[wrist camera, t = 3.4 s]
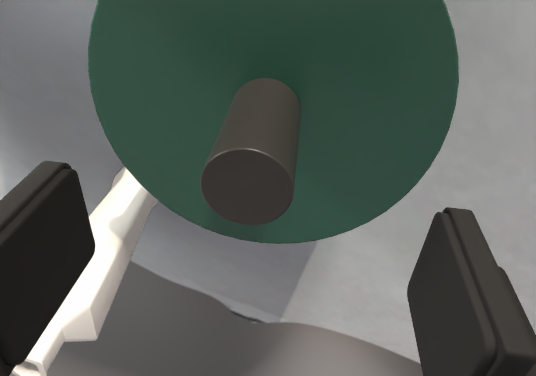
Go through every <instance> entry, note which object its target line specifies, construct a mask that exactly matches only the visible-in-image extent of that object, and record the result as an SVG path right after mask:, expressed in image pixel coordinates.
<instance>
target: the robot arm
mask: <svg viewBox="0 0 536 376" xmlns="http://www.w3.org/2000/svg"><path fill="white" fill-rule="evenodd" d="M94 253H95V240H94V237H93V233H92V229H91V225H90V221H89V217H88V213H87V209H86V205H85V201H84V197H83V194H82V190H81V186H80V182H79V178H78V174H77V172H76V171H75V170H73V169H72V168H71V166H70V165H69V164H67V163H60V162H52V161H44V162H42V163H41V164H39V165H38V166H37V167H36V168H35V169H34V170H33V171H32V172H31V173H30V174H29V175H28V176H26V177H25V178H24V179H23V180H22V181H21V182H20V183H19V184H18V185H17V186H16V187H15V188H13V189H12V190H11V191H10V192H9V193H8V194H7V195H6V196H5V197H4V198H3V199H1V200H0V376H9V375H10V374H11V372H12V371H13V369H14V368H15V366H16V365H20V364H21V363H23V362H24V361H25V359H26V358H27V356H28V355H29V353H30V352H31V350H32V349H33V347H34V346H35V344H36V343H37V341H38V340H39V338H40V337H41V335H42V334H43V332H44V331H45V329H46V328H47V326H48V324H49V323H50V321H51V320H52V318H53V317H54V315H55V314H56V312H57V311H58V309H59V308H60V306H61V305H62V303H63V302H64V300H65V299H66V297H67V296H68V294H69V292H70V291H71V289H72V288H73V286H74V285H75V283H76V282H77V280H78V279H79V277H80V276H81V274H82V273H83V271H84V270H85V268H86V267H87V265H88V263H89V262H90V260H91V259H92V257H93V255H94ZM407 296H408V302H409V307H410V312H411V317H412V322H413V327H414V332H415V337H416V342H417V347H418V352H419V357H420V362H421V367H422V371H423V376H536V335H535V333H534V331H533V328H532V326H531V324H530V322H529V320H528V318H527V316H526V314H525V312H524V310H523V308H522V305H521V303H520V301H519V299H518V297H517V295H516V293H515V291H514V289H513V287H512V285H511V282H510V280H509V278H508V276H507V274H506V273H505V271H504V270H503V269H502V268H501V267H499V266H497V263H496V261H495V259H494V257H493V255H492V253H491V250H490V248H489V246H488V244H487V242H486V240H485V238H484V235H483V233H482V231H481V229H480V227H479V225H478V222H477V220H476V218H475V216H474V214H473V212H472V211H471V210H466V209H457V208H449V207H447V208H445V209H444V210H443V212H437V213H436V214H435V216H434V218H433V221H432V224H431V226H430V229H429V232H428V234H427V237H426V239H425V242H424V245H423V247H422V250H421V253H420V255H419V258H418V260H417V263H416V266H415V268H414V271H413V274H412V276H411V279H410V282H409V285H408V291H407Z"/></svg>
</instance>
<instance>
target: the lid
mask: <svg viewBox="0 0 536 376" xmlns="http://www.w3.org/2000/svg"><path fill="white" fill-rule="evenodd" d="M88 71H89V78H90V86H91V93H92V97H93V100H94V104H95V108H96V112H97V115H98V117H99V120H100V122H101V125H102V127H103V130H104V132H105V135H106V136H107V138H108V140H109V142H110V144H111V146H112V147H113V149H114V151H115V153H116V154H117V156H118V157H119V159H120V160H121V161H122V163H123V164H124V166H125V167H126V168H127V170H128V171H129V172H130V173H131V174H132V176H133V177H134V178H135V179H136V180H137V181H138V182H139V183H140V185H141V186H143V187H144V188H145V189H146V190H147V191H148V192H149V193H150V194H151V195H152V196H153V197H154V198H156V199H157V200H158V201H160V202H161V203H162V204H164V205H165V206H166V207H168V208H169V209H170V210H172V211H173V212H175V213H177V214H178V215H180V216H182V217H183V218H185V219H187V220H189V221H191V222H193V223H195V224H197V225H199V226H201V227H203V228H205V229H208V230H211V231H214V232H216V233H219V234H222V235H225V236H229V237H233V238H237V239H241V240H247V241H253V242H260V243H275V244H281V243H300V242H308V241H315V240H319V239H324V238H328V237H332V236H335V235H338V234H341V233H344V232H347V231H350V230H352V229H354V228H357V227H359V226H361V225H363V224H365V223H367V222H369V221H371V220H372V219H374V218H376V217H377V216H379V215H381V214H382V213H384V212H385V211H387V210H388V209H389V208H391V207H392V206H393V205H394V204H396V203H397V202H398V201H400V200H401V199H402V198H403V197H404V196H405V195H406V194H407V193H408V192H409V191H410V190H411V189H412V188H413V187H414V186H415V185H416V184H417V183H418V181H419V180H420V179H421V178H422V176H423V175H424V174H425V173H426V171H427V170H428V169H429V167H430V166H431V164H432V162H433V161H434V159H435V157H436V156H437V154H438V152H439V151H440V149H441V147H442V144H443V142H444V140H445V137H446V135H447V133H448V130H449V128H450V124H451V121H452V117H453V113H454V110H455V106H456V99H457V91H458V83H459V67H458V51H457V45H456V39H455V33H454V29H453V26H452V23H451V20H450V17H449V14H448V11H447V8H446V5H445V3H444V1H443V0H98V3H97V6H96V10H95V14H94V17H93V21H92V24H91V32H90V39H89V47H88Z"/></svg>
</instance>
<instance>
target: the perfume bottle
mask: <svg viewBox="0 0 536 376" xmlns="http://www.w3.org/2000/svg"><path fill="white" fill-rule="evenodd" d="M158 202H159V201H158V200H157V199H156V198H154V197H153V196H152V195H151V194H150V193H149V192H148V191H147V190H146V189H145V188H144V187H143V186H141V185H140V183H139V182H138V181H137V180H136V179H135V178H134V177H133V176H132V174H131V173H130V172H129V171H128V170H127V168H126V167H125V166H124V167H123V168H122V169H121V170H120V171H119V173H118V174H117V175H116V176H115V177H114V180H113V184H112V188H111V191H110V192H109V193H108V194H107V195H106V197H105V198H104V199H103V200H102V201H101V203H100V204H99V205H98V206H97V207H96V208H95V210H94V211H93V212H92V213H91V214H90V215H89V221H90V225H91V229H92V233H93V237H94V240H95V253H94V255H93V257H92V259H91V260H90V262H89V263H88V265H87V267H86V268H85V270H84V271H83V273H82V274H81V276H80V277H79V279H78V280H77V282H76V283H75V285H74V286H73V288H72V289H71V291H70V292H69V294H68V296H67V297H66V299H65V300H64V302H63V303H62V305H61V306H60V308H59V309H58V311H57V312H56V314H55V315H54V317H53V318H52V320H51V321H50V323H49V324H48V326H47V328H46V329H45V331H44V332H43V334H42V335H41V337H40V338H39V340H38V341H37V343H36V344H35V346H34V347H33V349H32V350H31V352H30V353H29V355H28V356H27V358H26V359H25V361H24V362H23V363H21V364H20V365H16V366H15V368H14V369H13V371H12V373H13V374H15V375H16V376H47V370H48V369H49V367H50V365H51V364H52V362H53V360H54V358H55V357H56V355H57V353H58V352H59V349H60V348H61V346H62V345H63V343H64V342H75V341H95V340H97V337H98V336H99V333H100V331H101V328H102V326H103V323H104V321H105V319H106V316H107V314H108V312H109V309H110V307H111V304H112V302H113V300H114V297H115V294H116V292H117V290H118V287H119V285H120V283H121V280H122V278H123V276H124V273H125V271H126V268H127V266H128V264H129V261H130V259H131V256H132V254H133V252H134V249H135V247H136V244H137V242H138V240H139V237H140V235H141V232H142V230H143V228H144V225H145V223H146V220H147V218H148V216H149V213H150V211H151V208H152V207H153V206H155V205H156V204H157V203H158Z"/></svg>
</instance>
